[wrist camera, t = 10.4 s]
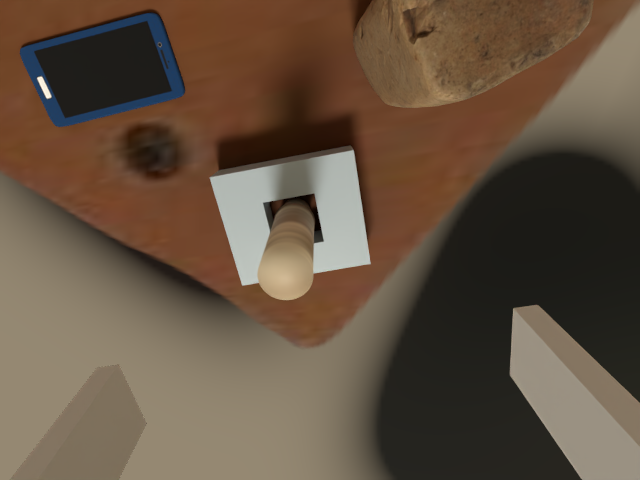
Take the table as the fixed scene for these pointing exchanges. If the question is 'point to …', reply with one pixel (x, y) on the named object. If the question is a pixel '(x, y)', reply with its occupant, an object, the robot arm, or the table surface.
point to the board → (286, 182)
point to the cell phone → (104, 70)
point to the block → (459, 44)
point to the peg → (289, 252)
